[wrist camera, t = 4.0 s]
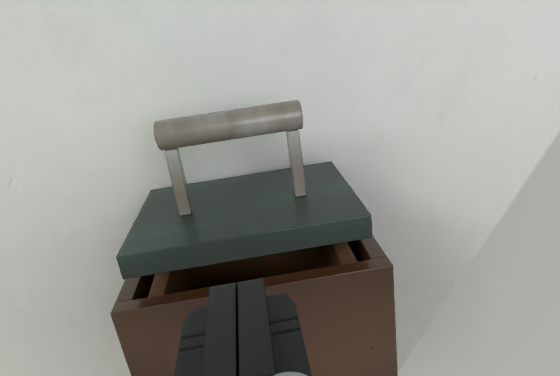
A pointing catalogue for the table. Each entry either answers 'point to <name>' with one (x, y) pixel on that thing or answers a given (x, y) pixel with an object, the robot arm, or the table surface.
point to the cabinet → (310, 307)
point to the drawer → (241, 211)
